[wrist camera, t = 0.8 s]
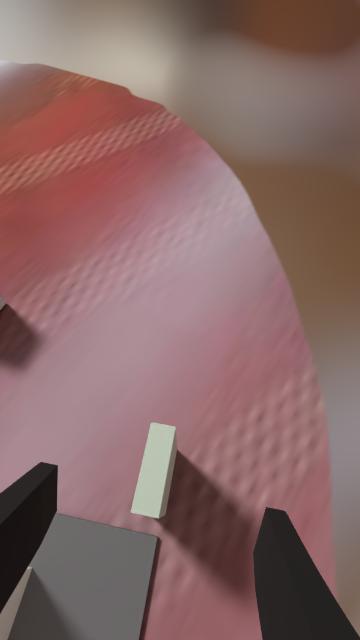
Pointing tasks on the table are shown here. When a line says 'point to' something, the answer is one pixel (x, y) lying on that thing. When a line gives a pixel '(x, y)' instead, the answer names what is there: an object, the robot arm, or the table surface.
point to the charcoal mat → (86, 583)
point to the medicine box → (2, 302)
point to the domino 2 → (156, 472)
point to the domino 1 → (12, 606)
